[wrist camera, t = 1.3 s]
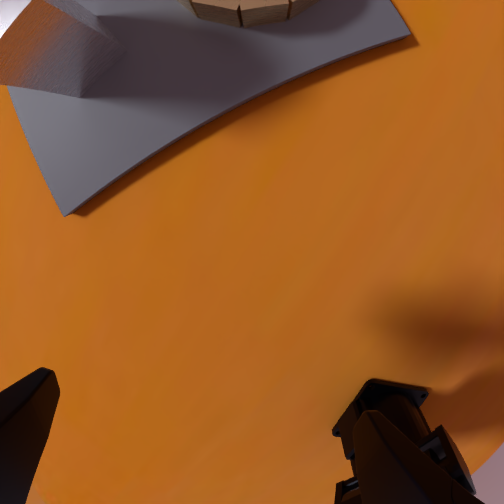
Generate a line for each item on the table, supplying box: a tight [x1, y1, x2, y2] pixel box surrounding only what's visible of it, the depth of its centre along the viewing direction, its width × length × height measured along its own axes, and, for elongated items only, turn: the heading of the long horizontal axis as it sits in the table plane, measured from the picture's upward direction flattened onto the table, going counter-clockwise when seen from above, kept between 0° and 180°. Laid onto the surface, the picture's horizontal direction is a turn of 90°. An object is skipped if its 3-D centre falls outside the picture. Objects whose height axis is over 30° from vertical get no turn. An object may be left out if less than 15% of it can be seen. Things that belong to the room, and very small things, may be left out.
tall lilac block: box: [0, 0, 127, 98], centre depth 10 cm, size 4×4×9 cm
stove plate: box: [7, 0, 411, 217], centre depth 14 cm, size 24×16×1 cm, turn 118°
